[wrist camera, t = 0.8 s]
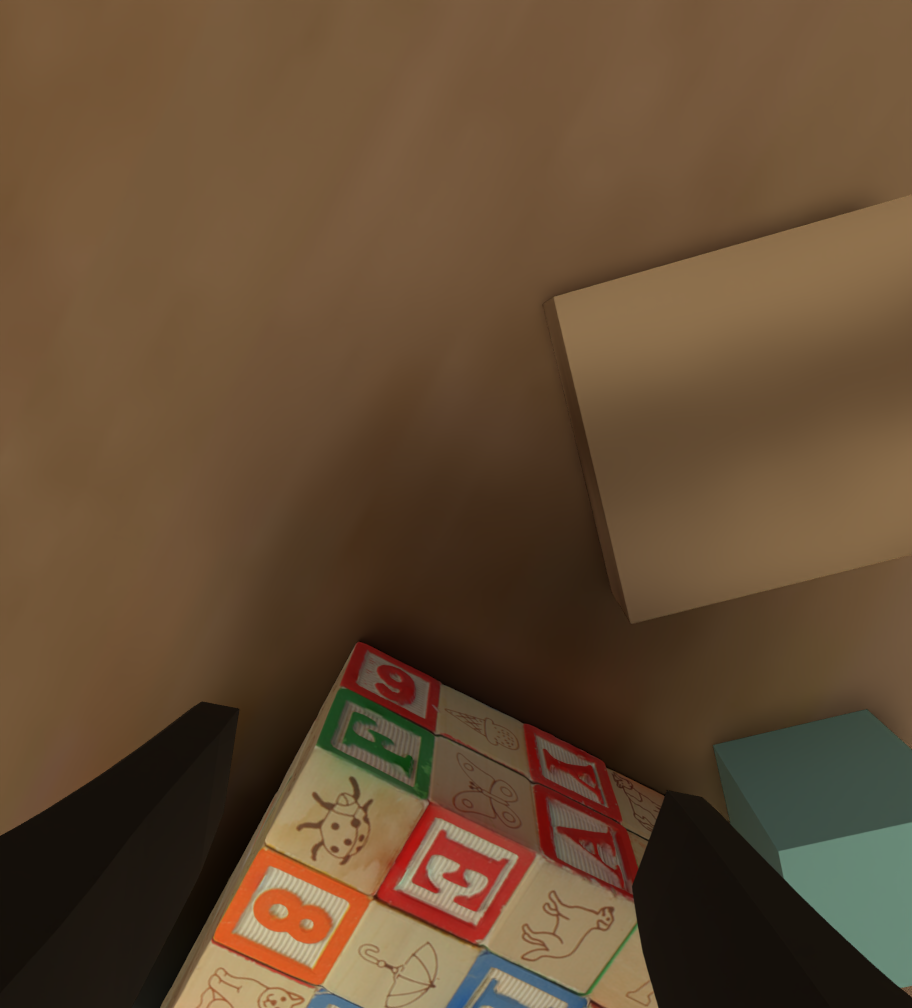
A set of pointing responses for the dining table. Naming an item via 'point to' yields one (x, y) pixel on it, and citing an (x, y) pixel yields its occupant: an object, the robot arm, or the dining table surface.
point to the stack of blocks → (430, 865)
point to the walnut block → (746, 411)
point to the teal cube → (833, 825)
